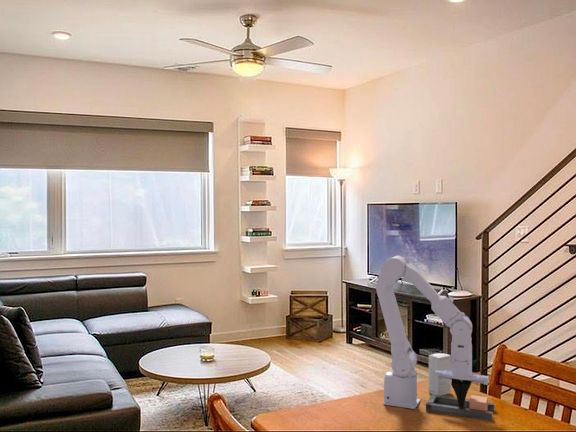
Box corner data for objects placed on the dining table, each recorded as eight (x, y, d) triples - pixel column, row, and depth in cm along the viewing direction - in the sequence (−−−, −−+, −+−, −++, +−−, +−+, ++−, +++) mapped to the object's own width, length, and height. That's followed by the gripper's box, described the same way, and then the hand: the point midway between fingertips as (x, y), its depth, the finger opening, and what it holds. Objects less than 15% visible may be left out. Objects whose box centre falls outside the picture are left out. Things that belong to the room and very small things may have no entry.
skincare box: (438, 396, 169) (438, 358, 169) (427, 392, 173) (427, 354, 173) (451, 393, 173) (452, 355, 173) (440, 389, 176) (440, 352, 176)
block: (469, 414, 154) (469, 400, 154) (471, 408, 159) (471, 395, 159) (485, 417, 152) (485, 402, 152) (487, 411, 157) (487, 397, 157)
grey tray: (425, 410, 157) (425, 404, 157) (431, 401, 166) (431, 394, 166) (492, 421, 150) (492, 413, 150) (494, 410, 158) (494, 403, 158)
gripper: (489, 358, 158) (489, 404, 158) (438, 352, 164) (438, 397, 164) (487, 364, 152) (487, 413, 152) (434, 358, 158) (434, 405, 158)
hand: (461, 405), depth 158 cm, fingers closed
